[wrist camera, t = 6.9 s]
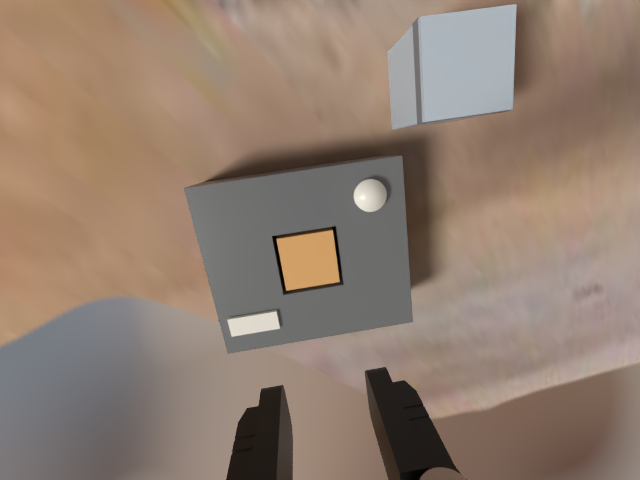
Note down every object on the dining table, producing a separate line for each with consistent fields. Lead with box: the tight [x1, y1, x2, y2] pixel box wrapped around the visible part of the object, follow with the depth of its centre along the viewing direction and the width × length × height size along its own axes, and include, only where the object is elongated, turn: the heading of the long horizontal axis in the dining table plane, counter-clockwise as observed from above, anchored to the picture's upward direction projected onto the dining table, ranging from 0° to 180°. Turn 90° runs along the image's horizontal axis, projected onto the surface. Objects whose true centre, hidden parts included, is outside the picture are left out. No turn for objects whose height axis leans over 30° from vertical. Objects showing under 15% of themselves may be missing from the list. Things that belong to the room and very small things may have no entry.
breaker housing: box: [184, 155, 413, 353], centre depth 26 cm, size 16×14×6 cm
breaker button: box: [277, 227, 340, 291], centre depth 26 cm, size 4×4×5 cm
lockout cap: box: [387, 4, 517, 130], centre depth 23 cm, size 6×6×7 cm
